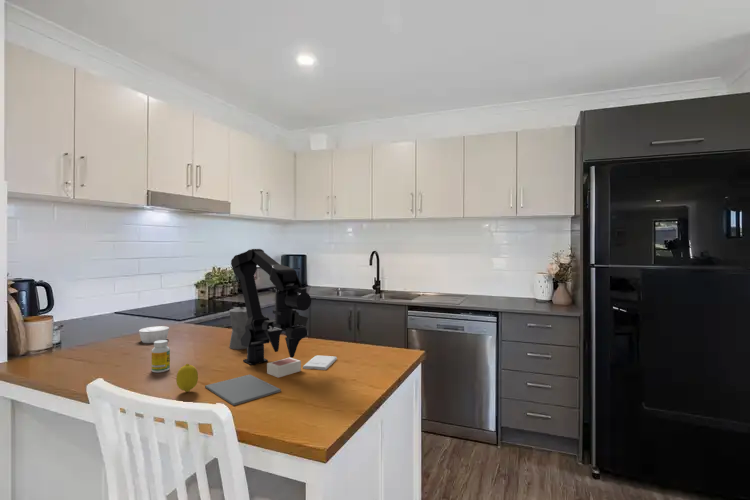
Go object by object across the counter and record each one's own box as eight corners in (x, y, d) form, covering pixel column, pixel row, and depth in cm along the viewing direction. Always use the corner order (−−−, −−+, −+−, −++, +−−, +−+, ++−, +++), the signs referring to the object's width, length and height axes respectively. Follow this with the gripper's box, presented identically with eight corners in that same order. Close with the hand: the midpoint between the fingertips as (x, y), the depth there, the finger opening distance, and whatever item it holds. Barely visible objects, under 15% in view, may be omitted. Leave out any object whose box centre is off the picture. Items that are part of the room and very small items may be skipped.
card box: (267, 374, 126) (267, 363, 126) (289, 367, 133) (289, 357, 133) (278, 378, 122) (278, 366, 122) (300, 371, 129) (300, 360, 129)
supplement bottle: (152, 369, 130) (152, 340, 130) (170, 366, 132) (170, 338, 132) (150, 373, 125) (150, 344, 125) (169, 371, 127) (169, 342, 127)
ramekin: (132, 343, 163) (132, 330, 163) (152, 337, 174) (152, 325, 174) (156, 344, 162) (156, 332, 161) (174, 338, 173) (174, 326, 173)
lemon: (181, 388, 112) (181, 361, 112) (200, 388, 113) (201, 360, 113) (172, 396, 107) (172, 367, 107) (193, 395, 107) (193, 366, 107)
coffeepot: (259, 347, 158) (259, 303, 157) (236, 352, 151) (237, 305, 151) (242, 340, 169) (242, 299, 169) (220, 344, 162) (220, 301, 162)
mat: (205, 387, 113) (205, 385, 113) (249, 376, 123) (249, 374, 123) (233, 405, 101) (233, 403, 101) (280, 391, 111) (280, 389, 111)
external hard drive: (336, 361, 142) (325, 371, 130) (315, 359, 144) (302, 370, 132) (336, 356, 142) (325, 366, 130) (315, 355, 144) (302, 365, 132)
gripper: (321, 307, 127) (321, 355, 127) (289, 301, 140) (289, 344, 140) (292, 311, 119) (292, 362, 119) (261, 304, 132) (261, 350, 132)
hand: (284, 354), depth 128 cm, fingers open, 9 cm apart
